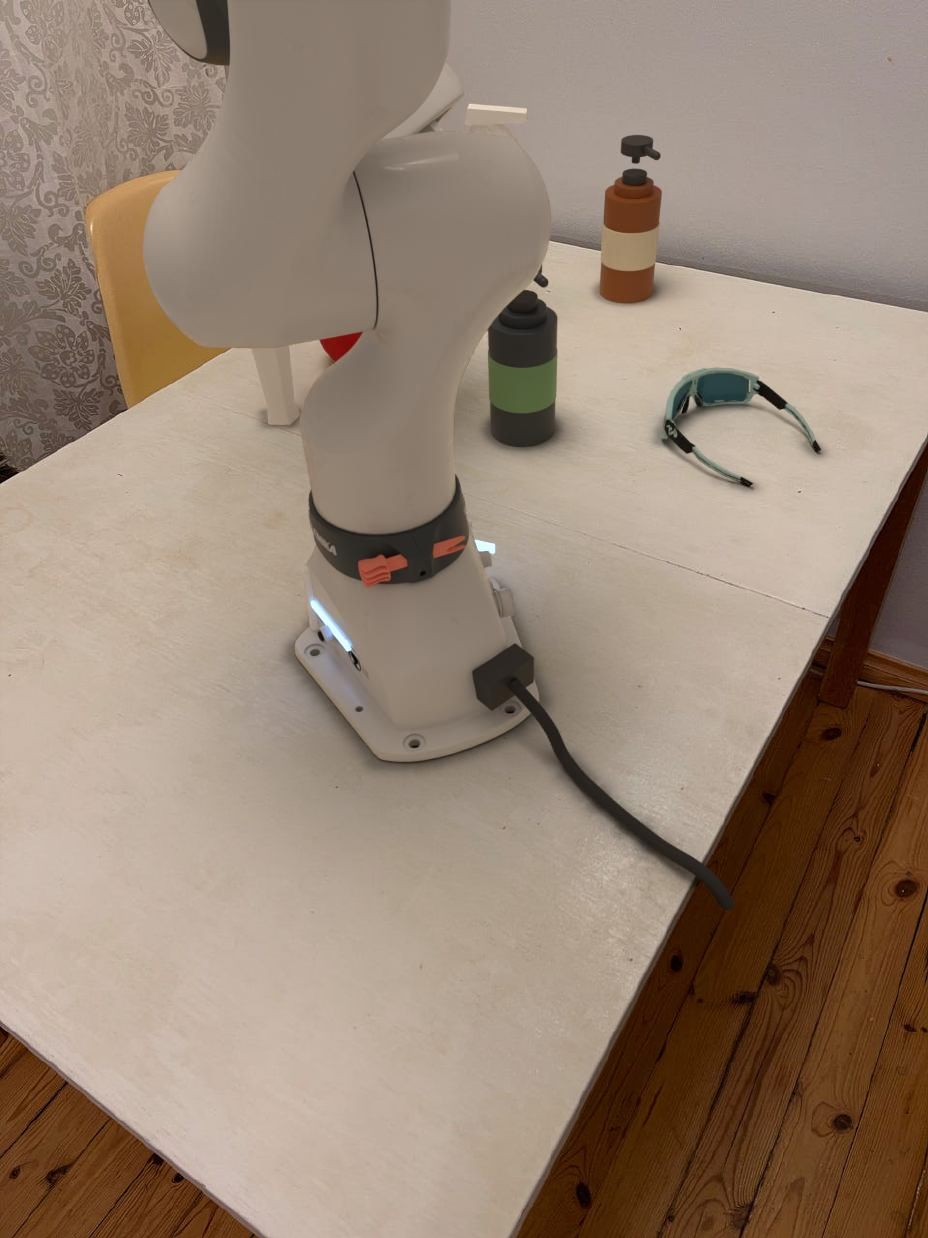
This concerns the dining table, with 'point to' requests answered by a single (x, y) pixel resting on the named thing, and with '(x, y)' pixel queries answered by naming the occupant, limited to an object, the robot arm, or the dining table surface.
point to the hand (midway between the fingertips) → (452, 176)
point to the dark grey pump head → (638, 147)
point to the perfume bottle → (277, 384)
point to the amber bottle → (630, 237)
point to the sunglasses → (719, 390)
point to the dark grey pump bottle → (523, 372)
